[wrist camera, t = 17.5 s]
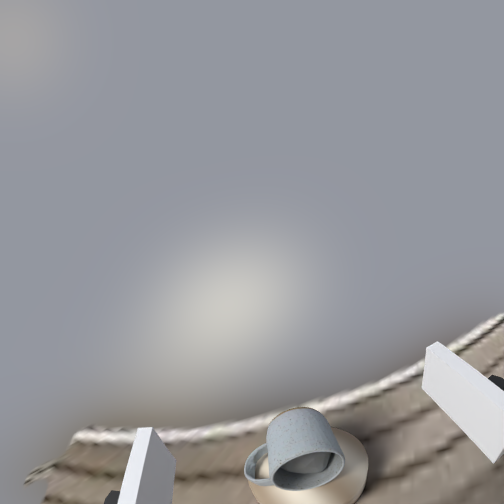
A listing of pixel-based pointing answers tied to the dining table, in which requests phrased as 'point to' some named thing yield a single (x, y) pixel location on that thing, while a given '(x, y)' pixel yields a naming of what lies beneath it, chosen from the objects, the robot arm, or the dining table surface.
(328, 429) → the ceramic mug
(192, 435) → the dining table surface
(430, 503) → the dining table surface
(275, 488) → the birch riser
